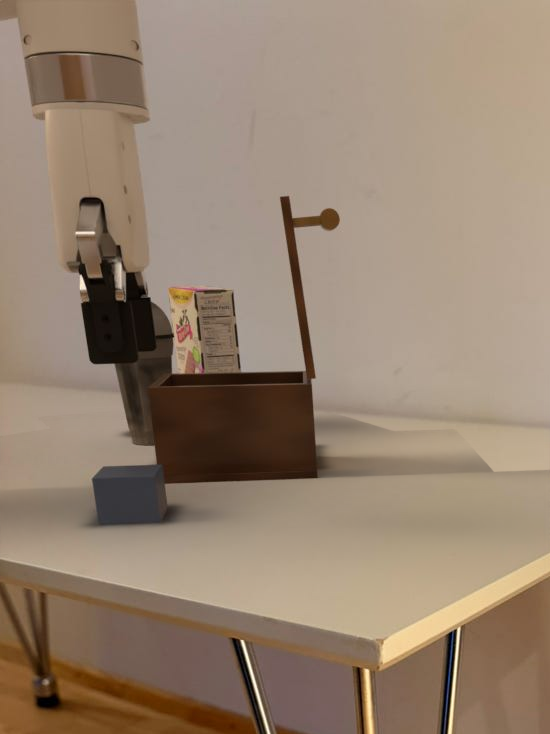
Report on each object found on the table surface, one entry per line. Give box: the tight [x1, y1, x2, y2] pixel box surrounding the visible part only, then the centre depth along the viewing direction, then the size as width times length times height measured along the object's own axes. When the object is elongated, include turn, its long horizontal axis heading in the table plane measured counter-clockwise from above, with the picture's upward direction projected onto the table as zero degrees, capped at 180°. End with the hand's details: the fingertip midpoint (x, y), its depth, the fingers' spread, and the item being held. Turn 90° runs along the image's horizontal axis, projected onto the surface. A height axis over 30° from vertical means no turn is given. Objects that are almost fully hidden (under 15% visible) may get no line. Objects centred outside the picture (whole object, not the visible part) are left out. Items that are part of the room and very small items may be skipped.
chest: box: [148, 370, 319, 485], centre depth 96 cm, size 15×12×9 cm
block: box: [91, 464, 169, 526], centre depth 76 cm, size 4×4×4 cm
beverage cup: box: [114, 301, 174, 446], centre depth 109 cm, size 7×7×20 cm
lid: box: [279, 195, 341, 380], centre depth 93 cm, size 15×12×5 cm
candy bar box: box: [167, 285, 242, 373], centre depth 120 cm, size 11×5×16 cm, turn 32°
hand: (126, 356), depth 73 cm, fingers open, 9 cm apart
